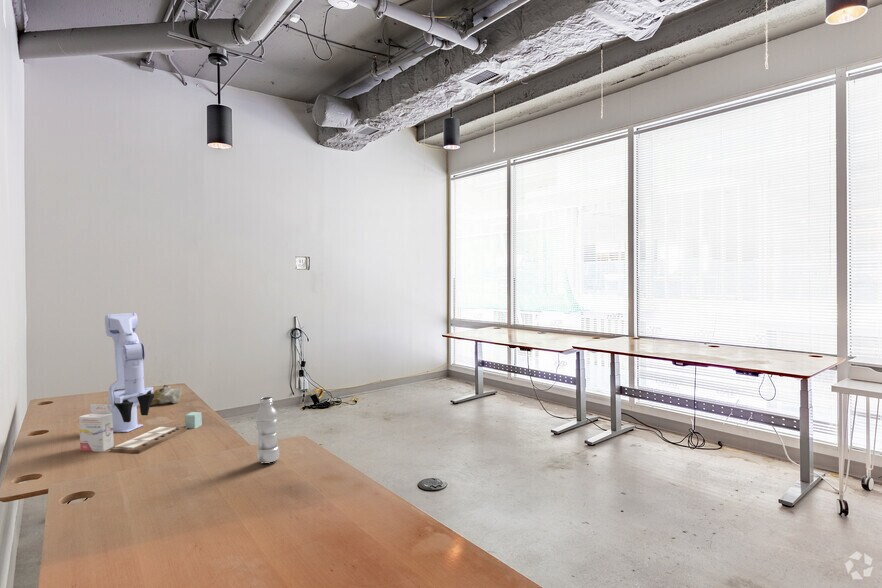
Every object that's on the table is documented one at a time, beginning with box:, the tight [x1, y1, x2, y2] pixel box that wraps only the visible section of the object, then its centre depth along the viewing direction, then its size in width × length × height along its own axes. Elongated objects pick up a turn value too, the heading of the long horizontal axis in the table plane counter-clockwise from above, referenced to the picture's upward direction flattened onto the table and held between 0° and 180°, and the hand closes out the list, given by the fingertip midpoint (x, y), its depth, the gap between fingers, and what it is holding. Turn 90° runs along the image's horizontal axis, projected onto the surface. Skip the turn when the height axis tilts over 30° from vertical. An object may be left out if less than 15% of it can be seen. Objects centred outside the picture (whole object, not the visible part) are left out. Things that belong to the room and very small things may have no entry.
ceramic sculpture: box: [150, 384, 182, 406], centre depth 221 cm, size 11×9×15 cm
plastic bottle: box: [255, 396, 280, 463], centre depth 151 cm, size 6×7×20 cm
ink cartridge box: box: [78, 403, 115, 453], centre depth 164 cm, size 9×5×15 cm, turn 84°
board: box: [109, 425, 188, 454], centre depth 173 cm, size 11×23×1 cm, turn 170°
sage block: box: [184, 411, 203, 429], centre depth 187 cm, size 4×4×5 cm
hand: (135, 418), depth 167 cm, fingers open, 7 cm apart
